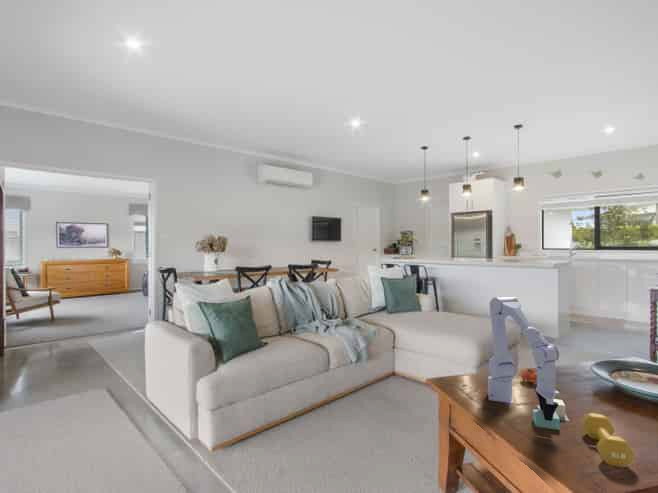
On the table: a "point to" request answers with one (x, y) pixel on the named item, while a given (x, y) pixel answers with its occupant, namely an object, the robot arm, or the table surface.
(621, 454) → the dumbbell
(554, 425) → the brick teal
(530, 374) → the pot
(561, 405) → the brick cream
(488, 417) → the table surface
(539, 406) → the build board
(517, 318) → the robot arm
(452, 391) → the table surface
